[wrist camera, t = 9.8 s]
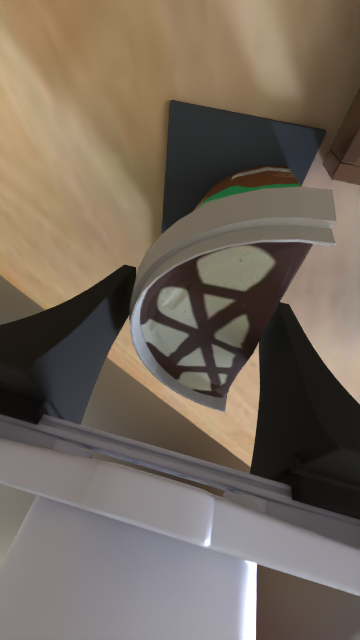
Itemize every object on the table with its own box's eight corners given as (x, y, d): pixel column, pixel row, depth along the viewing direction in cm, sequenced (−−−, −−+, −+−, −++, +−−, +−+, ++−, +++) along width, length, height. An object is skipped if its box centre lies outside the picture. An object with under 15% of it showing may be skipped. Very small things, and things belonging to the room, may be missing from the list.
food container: (182, 111, 12) (93, 171, 6) (301, 132, 12) (350, 222, 5) (167, 289, 22) (126, 390, 15) (234, 305, 21) (222, 415, 15)
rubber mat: (325, 129, 12) (326, 131, 12) (243, 308, 22) (243, 310, 22) (171, 99, 12) (169, 100, 12) (158, 287, 22) (157, 289, 22)
